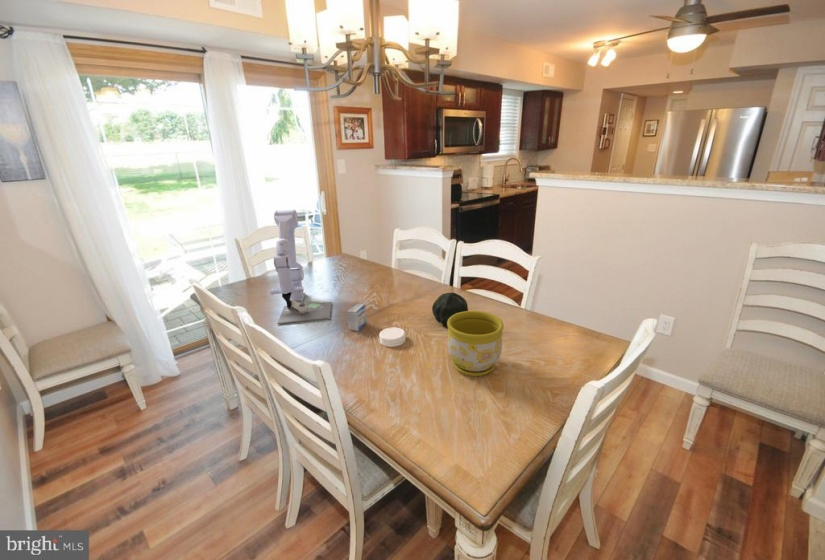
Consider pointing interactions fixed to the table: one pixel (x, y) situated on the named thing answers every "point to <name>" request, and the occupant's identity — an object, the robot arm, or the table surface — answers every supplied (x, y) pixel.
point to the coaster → (392, 337)
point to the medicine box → (356, 317)
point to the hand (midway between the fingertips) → (289, 306)
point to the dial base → (314, 313)
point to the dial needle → (299, 307)
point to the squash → (448, 306)
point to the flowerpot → (474, 341)
